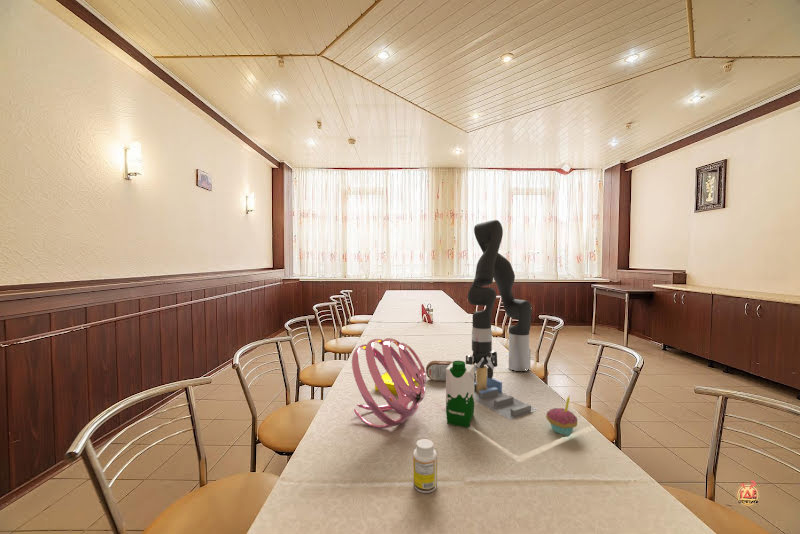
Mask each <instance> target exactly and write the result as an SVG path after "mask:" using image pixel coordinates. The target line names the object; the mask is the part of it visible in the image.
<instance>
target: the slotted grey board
mask: <svg viewBox="0 0 800 534" xmlns="http://www.w3.org/2000/svg"><path fill="white" fill-rule="evenodd" d="M474 384H475V386H474V402H477V403H479V404H480V405H482V406H484V407H486V408H488V409H489V410H491V411H493V412H494V413H496V414H498V415H500V416H501V417H504V418H506V419H507V420H509V421H511V420H514V419H517V418H520V417H523V416H526V415H528V414H531V413H534V412H537V411H539V409H538V408H535V407H534V406H532V405H531V404H529V403H525V402H523V401H521V400H519V399H517V398H514V396H513V395H508V394H506V393H504V392H503V382H502V381H500V380H498V379H496V378H493V377H492V379H490V378H488V377H487V389H485V390H482V391H479V394H477V393H476V383H474Z"/></svg>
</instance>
